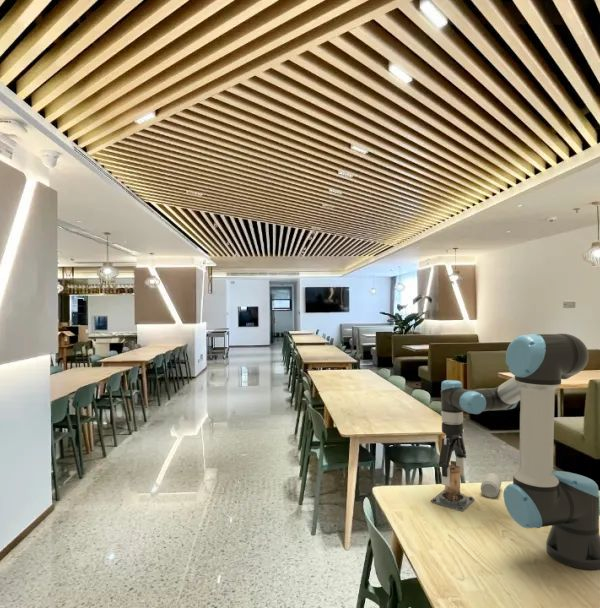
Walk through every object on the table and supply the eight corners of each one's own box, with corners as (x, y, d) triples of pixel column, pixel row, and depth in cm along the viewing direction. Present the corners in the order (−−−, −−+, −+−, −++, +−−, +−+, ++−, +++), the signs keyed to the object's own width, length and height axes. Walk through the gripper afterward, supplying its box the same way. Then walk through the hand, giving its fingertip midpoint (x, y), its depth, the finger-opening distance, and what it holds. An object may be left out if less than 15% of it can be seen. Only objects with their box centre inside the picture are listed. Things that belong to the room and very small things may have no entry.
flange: (474, 500, 173) (474, 495, 173) (462, 511, 163) (462, 505, 164) (443, 492, 180) (443, 487, 180) (430, 502, 171) (430, 497, 171)
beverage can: (478, 494, 176) (482, 484, 187) (496, 501, 173) (499, 490, 184) (482, 478, 176) (486, 469, 186) (500, 485, 173) (503, 475, 183)
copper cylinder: (463, 499, 172) (462, 466, 172) (457, 504, 168) (457, 471, 168) (448, 495, 176) (447, 463, 176) (441, 500, 172) (441, 467, 172)
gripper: (455, 415, 184) (456, 469, 184) (428, 427, 165) (429, 487, 164) (474, 417, 179) (475, 473, 179) (448, 430, 160) (449, 492, 160)
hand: (453, 480), depth 172 cm, fingers open, 13 cm apart
